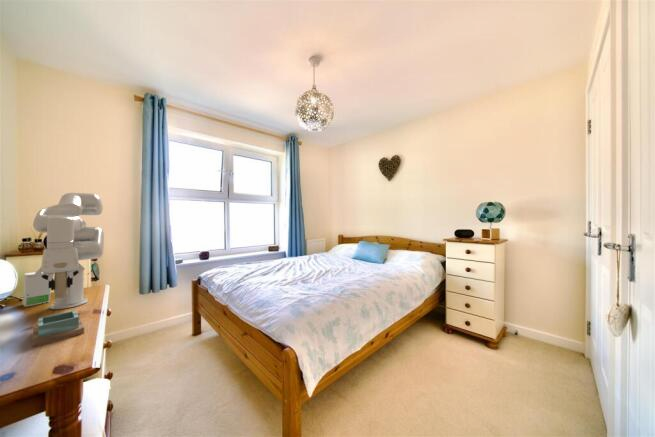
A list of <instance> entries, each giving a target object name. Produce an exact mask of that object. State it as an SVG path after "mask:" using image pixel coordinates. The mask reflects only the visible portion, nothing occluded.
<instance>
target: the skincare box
mask: <svg viewBox="0 0 655 437" xmlns="http://www.w3.org/2000/svg"><path fill="white" fill-rule="evenodd" d="M36 272H37V271H35V272H25V273H23V292H22V305H23V307H24V308H25V307H31V306H36V305H42V303H43V304H47V303H46V302H48V303H50V302H51V288H49V281H48V280H46V279H44V278H42V277H38V276H35V275H34V274H35V273H36ZM41 273H42V274H44V273H43V272H41ZM45 275H47V276H48V275H49V274H45Z"/></svg>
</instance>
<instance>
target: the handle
mask: <svg viewBox="0 0 655 437" xmlns="http://www.w3.org/2000/svg"><path fill="white" fill-rule="evenodd" d="M65 266H67V263H61V264H54V267H55V268H63V267H65ZM53 280H54V290H53V292H54V299H55V298H63V297H66V295H67V293H66V292H67V287H68V280H67V272H59V273H54V275H53Z"/></svg>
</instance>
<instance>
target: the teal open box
mask: <svg viewBox="0 0 655 437" xmlns="http://www.w3.org/2000/svg"><path fill="white" fill-rule="evenodd" d="M37 320H38V321H37V322H38V326H37V327H33V328H32V347H33V348H35V347H37V346H41V345H44V344H45V345H46V344H48V343H52V342H55V341H56V342H57V341H60V340H64V339H66V338H70V337H74V336H75V337H76V336H79V335H82V334H85V327H84V325H83V323H82V320H81V317H79V314H78V312H77V310H76V309H75V310H71V311H66V312H61V313H57V314H51V315H47V316H43V317H38V319H37Z"/></svg>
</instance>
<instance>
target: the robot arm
mask: <svg viewBox="0 0 655 437" xmlns="http://www.w3.org/2000/svg"><path fill="white" fill-rule="evenodd" d="M103 210H104V207H103V202H102V199H101V197H100V196H99V195H97V194H95V193H85V192H68V193H64V194H63V195H62V196H61V198H60V199H59V200H58V203H57V204H55V205H51V206H48V207H45V208H42V209H40V210H39V211H38V212H37V213H36V215H35V217H34V218H33V221H32V222H33V224H32V225H33V226H32V227H33V229H34V230H35V231H36V232H37V233H42V234H43V233H46V248H45V249H44V250H43V252H42V256H41V266H40V268H38V270H37V271H35V272H36V273H35V274H34V275H35V276H38V277H42V278H44V279H46V280H48V281H49V288H51V289H50V291H54V276H55V273H59V272H67V280H68V287H67V292H66V293H67V295H66V297H63V298H55V297H54V303H51V304H50V305H49V309H51V310H62V309H63V310H65V309H69V308H73V307H78V306H82V305H83V304H86V303H88V301H89V299H88V298H87V297H84V282H85V281H84V279H85V278H84V276H85V275H84V274H85V273H84V272H85V267H84V266H83V265H82V264H81V263H80V262H79V261H84V260H85V261H87V260H94V259H99V258H101V257H102V256H103V255H104V247H105V246H104V245H105V244H104V243H105V232H104V230H103V229H102V228H101V227H99V226H87V222H86V221H85V220H84V219H82V218H81V217H80V216H99V215H101V214H102V213H103ZM61 263H67V266H65V267H63V268H55V267H54V264H61ZM41 272H43V273H44V274H42V273H41ZM45 274H49V275H48V276H47V275H45Z"/></svg>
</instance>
